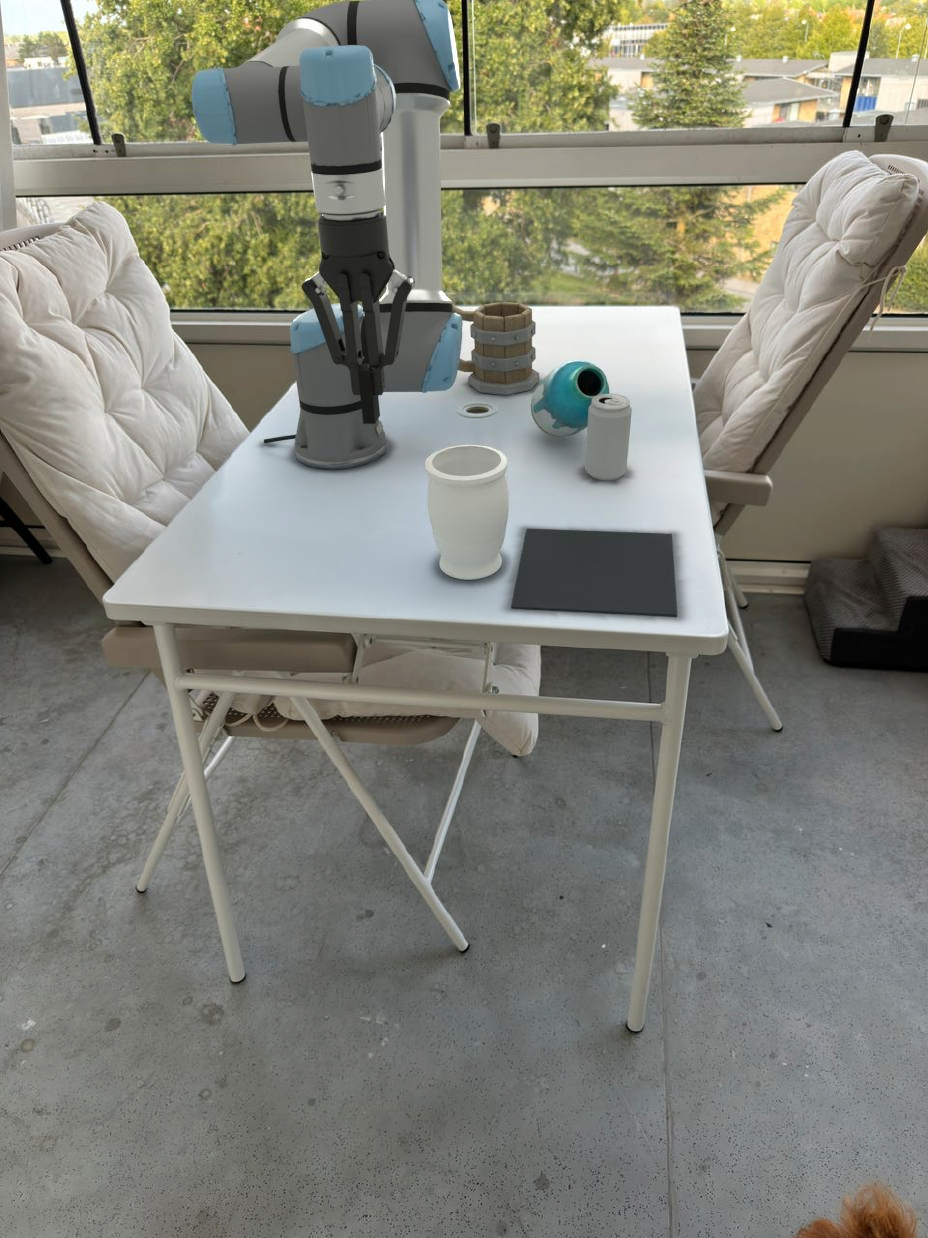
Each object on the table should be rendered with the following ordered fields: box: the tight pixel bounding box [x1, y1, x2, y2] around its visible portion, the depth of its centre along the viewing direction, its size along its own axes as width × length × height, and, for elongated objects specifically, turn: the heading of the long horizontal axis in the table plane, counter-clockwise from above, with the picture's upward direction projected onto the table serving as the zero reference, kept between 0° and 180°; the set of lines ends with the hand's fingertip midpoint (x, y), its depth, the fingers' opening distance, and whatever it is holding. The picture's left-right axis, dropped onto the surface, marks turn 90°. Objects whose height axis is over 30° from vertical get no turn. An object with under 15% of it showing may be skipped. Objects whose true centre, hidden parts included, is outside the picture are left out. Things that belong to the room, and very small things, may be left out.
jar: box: [424, 444, 510, 581], centre depth 120 cm, size 11×10×15 cm
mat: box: [510, 527, 678, 617], centre depth 121 cm, size 20×20×1 cm
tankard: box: [452, 301, 540, 396], centre depth 177 cm, size 20×13×15 cm, turn 69°
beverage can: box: [584, 393, 633, 481], centre depth 141 cm, size 6×6×12 cm
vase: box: [530, 359, 610, 438], centre depth 149 cm, size 11×11×19 cm
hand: (371, 419), depth 114 cm, fingers closed
